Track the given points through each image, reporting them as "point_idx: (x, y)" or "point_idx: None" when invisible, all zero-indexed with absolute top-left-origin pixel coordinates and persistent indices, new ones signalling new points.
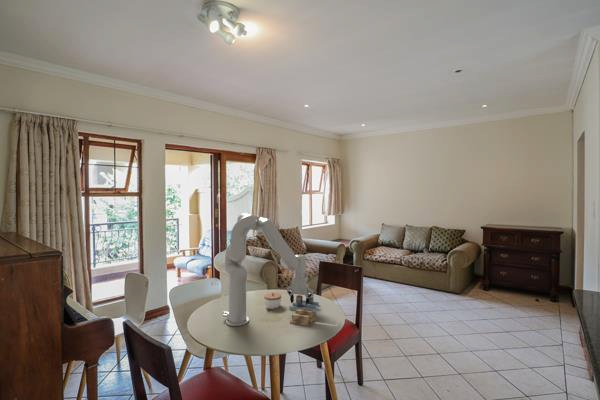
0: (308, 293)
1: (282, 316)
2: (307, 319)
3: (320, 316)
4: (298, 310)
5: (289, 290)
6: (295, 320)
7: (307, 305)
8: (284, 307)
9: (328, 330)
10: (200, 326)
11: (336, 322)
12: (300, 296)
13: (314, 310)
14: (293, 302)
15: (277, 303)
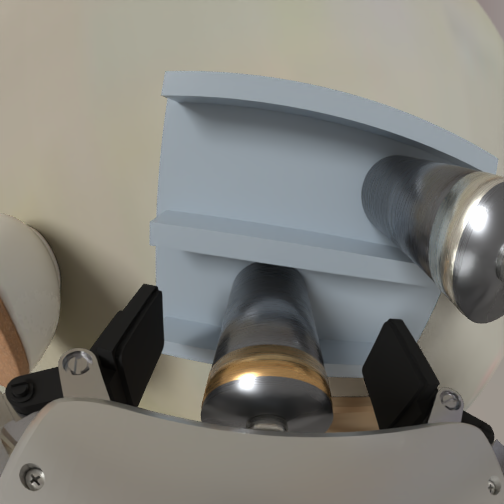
0: (487, 212)
1: (166, 398)
2: None
3: (440, 355)
4: None
5: (20, 425)
6: None
7: (375, 276)
8: (95, 237)
9: None
10: None
11: (481, 384)
12: (290, 427)
13: (426, 308)
14: (156, 229)
15: (47, 344)
